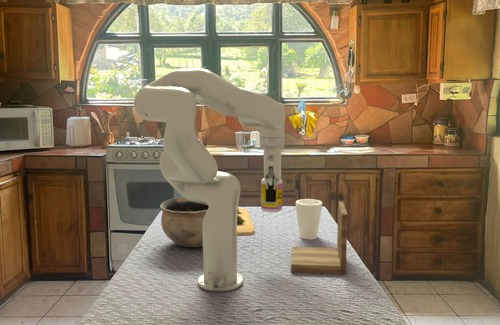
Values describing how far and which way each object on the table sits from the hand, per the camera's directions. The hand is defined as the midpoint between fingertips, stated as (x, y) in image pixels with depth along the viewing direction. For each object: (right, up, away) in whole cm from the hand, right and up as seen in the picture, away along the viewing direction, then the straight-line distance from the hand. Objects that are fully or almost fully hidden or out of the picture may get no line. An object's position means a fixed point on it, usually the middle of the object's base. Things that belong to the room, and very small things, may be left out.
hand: (271, 198), depth 159 cm
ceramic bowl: (-26, -17, +17) cm, 36 cm away
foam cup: (+14, -16, +25) cm, 33 cm away
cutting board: (-18, -14, +44) cm, 50 cm away
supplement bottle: (0, -4, +1) cm, 4 cm away
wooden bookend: (+14, -20, -2) cm, 25 cm away
